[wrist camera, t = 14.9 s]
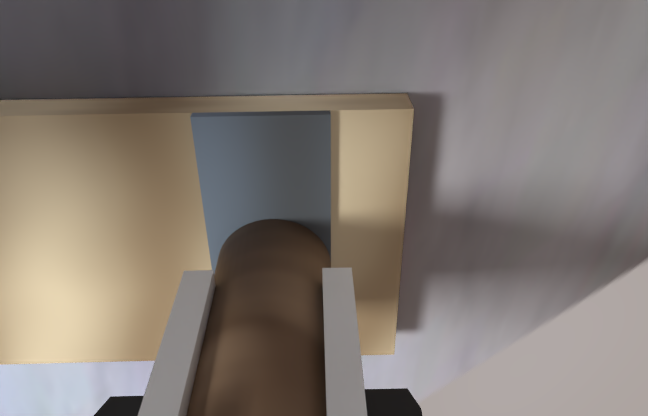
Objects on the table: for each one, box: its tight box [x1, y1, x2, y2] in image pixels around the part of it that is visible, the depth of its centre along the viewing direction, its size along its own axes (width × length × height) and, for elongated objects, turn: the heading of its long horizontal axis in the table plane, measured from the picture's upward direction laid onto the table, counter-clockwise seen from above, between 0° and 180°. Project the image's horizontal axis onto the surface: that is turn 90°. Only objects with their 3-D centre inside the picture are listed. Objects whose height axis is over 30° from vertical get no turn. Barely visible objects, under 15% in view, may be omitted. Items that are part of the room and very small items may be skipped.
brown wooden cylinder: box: [186, 219, 331, 416], centre depth 12 cm, size 3×3×10 cm
